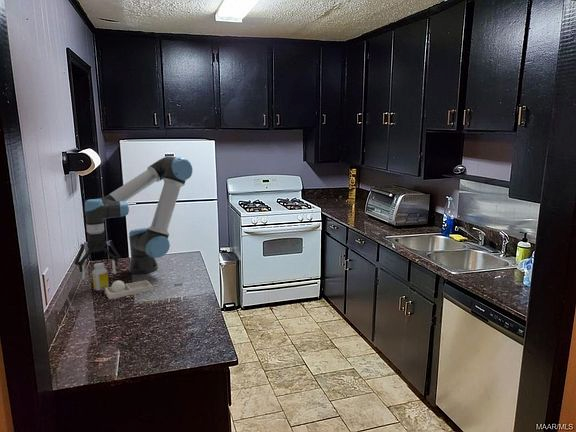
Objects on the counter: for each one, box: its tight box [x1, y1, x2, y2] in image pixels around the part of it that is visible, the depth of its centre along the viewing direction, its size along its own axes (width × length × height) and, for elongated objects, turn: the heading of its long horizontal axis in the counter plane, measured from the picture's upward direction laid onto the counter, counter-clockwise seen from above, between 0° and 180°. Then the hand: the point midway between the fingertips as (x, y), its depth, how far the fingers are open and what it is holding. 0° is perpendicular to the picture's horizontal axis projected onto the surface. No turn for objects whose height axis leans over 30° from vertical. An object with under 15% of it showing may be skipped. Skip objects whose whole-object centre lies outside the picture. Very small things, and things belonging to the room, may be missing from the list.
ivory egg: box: [110, 280, 126, 293], centre depth 196 cm, size 6×6×6 cm
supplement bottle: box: [91, 262, 110, 291], centre depth 202 cm, size 7×7×13 cm
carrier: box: [104, 279, 154, 300], centre depth 199 cm, size 20×11×3 cm, turn 124°
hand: (99, 275), depth 202 cm, fingers open, 13 cm apart
